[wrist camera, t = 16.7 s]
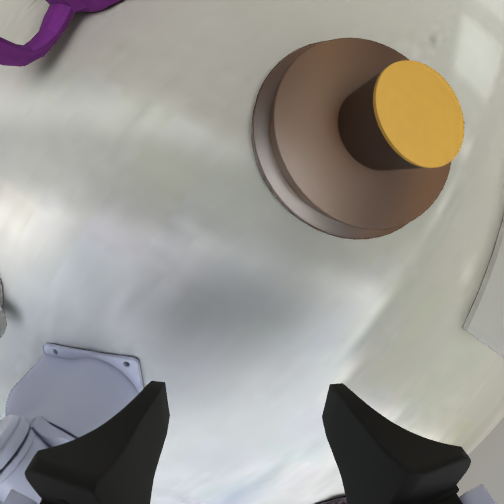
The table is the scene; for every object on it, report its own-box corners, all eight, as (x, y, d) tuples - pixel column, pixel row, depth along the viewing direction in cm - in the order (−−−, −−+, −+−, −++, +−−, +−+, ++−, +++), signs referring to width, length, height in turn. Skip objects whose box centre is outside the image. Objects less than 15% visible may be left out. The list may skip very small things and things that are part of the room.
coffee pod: (350, 178, 16) (393, 176, 11) (326, 93, 15) (359, 61, 10) (420, 163, 16) (473, 160, 11) (399, 85, 15) (445, 61, 10)
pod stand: (246, 231, 20) (248, 241, 16) (256, 35, 17) (259, 9, 13) (427, 241, 20) (455, 251, 17) (429, 71, 18) (454, 58, 14)
